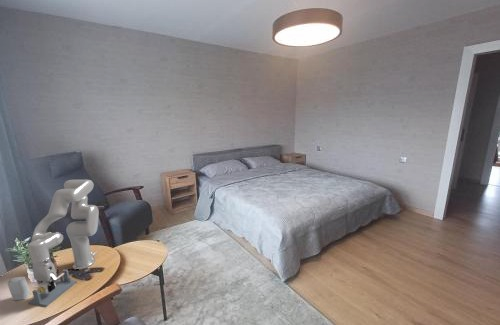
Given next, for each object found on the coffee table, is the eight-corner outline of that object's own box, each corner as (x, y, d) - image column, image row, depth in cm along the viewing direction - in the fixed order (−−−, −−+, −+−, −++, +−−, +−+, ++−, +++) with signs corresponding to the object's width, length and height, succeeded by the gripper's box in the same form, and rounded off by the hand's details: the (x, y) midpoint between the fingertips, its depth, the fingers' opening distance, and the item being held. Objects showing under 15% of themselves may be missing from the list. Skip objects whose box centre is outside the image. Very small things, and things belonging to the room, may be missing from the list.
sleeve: (49, 285, 130) (47, 278, 129) (55, 285, 129) (54, 279, 128) (40, 291, 125) (38, 284, 124) (46, 292, 124) (45, 285, 123)
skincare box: (30, 293, 130) (26, 275, 127) (23, 300, 125) (18, 281, 123) (19, 294, 129) (14, 276, 126) (12, 301, 125) (6, 282, 122)
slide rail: (60, 280, 140) (57, 268, 138) (76, 282, 138) (74, 270, 136) (28, 303, 123) (25, 290, 121) (46, 306, 121) (43, 293, 119)
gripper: (61, 258, 126) (67, 286, 129) (36, 256, 128) (42, 283, 132) (47, 267, 118) (54, 296, 122) (21, 264, 121) (28, 293, 125)
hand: (48, 289), depth 127 cm, fingers closed on sleeve, 4 cm apart
